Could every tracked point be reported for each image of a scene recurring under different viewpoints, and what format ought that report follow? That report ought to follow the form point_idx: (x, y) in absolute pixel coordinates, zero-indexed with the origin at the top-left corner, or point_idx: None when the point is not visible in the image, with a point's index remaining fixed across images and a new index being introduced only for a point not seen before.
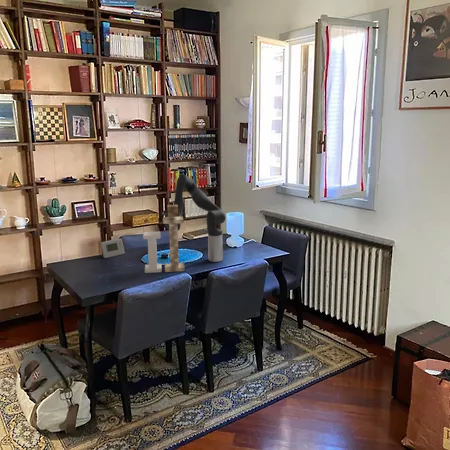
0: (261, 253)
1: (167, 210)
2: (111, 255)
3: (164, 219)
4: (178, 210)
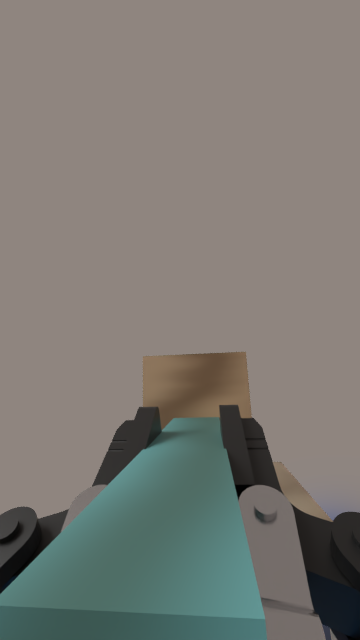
0: None
1: (316, 527)
2: None
3: (278, 474)
4: (41, 534)
